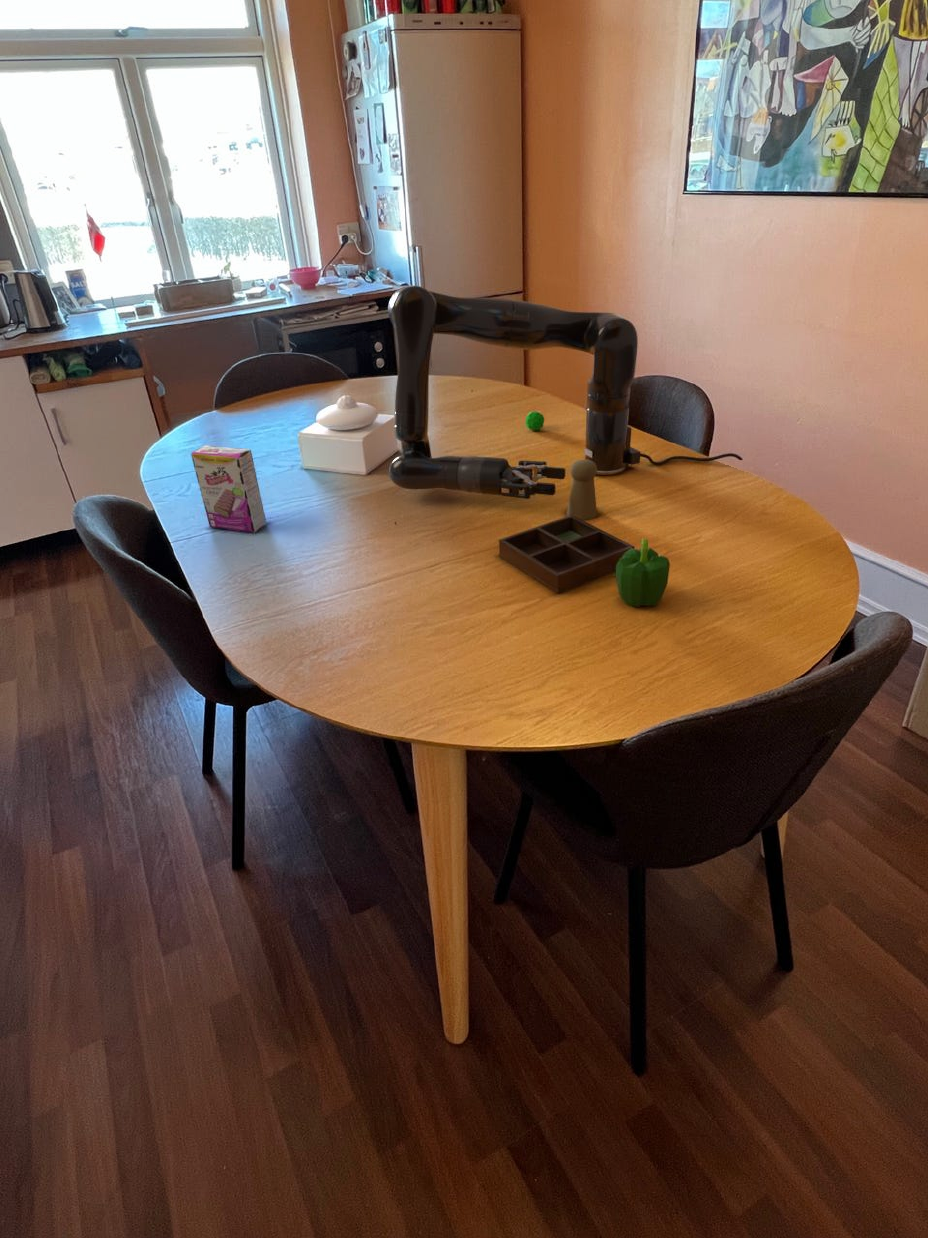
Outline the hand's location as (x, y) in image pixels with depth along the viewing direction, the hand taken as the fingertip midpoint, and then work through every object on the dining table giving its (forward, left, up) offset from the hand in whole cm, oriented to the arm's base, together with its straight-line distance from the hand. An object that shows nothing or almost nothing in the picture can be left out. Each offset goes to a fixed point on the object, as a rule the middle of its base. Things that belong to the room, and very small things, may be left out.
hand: (560, 481), depth 149 cm
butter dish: (+30, -53, -7) cm, 61 cm away
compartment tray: (+10, +19, -7) cm, 22 cm away
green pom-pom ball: (-19, -49, -7) cm, 53 cm away
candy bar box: (+62, -26, -7) cm, 67 cm away
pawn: (-3, +3, -7) cm, 8 cm away
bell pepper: (+6, +37, -7) cm, 38 cm away
